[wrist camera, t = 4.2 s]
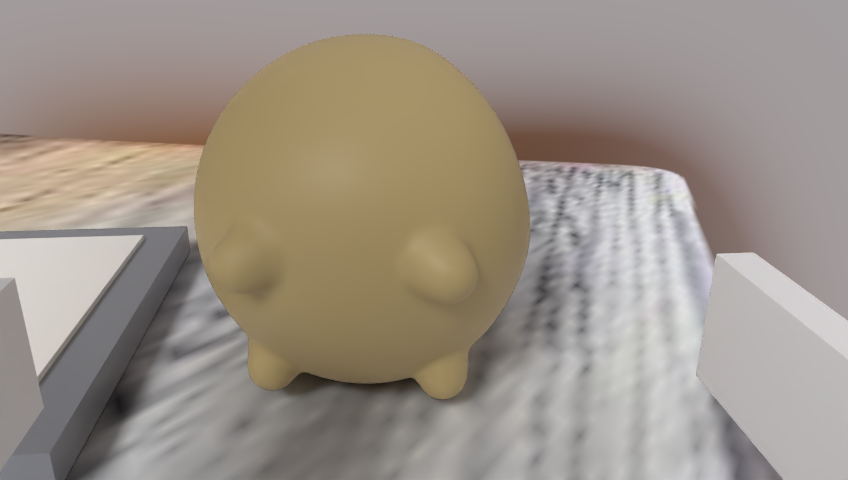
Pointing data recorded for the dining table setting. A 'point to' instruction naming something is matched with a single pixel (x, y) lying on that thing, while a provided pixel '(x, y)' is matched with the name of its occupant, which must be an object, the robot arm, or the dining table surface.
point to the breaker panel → (83, 325)
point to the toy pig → (361, 215)
